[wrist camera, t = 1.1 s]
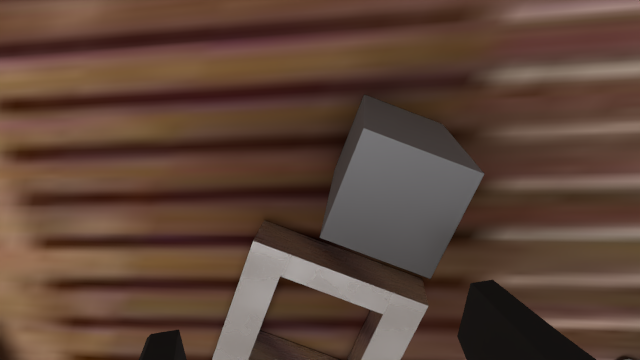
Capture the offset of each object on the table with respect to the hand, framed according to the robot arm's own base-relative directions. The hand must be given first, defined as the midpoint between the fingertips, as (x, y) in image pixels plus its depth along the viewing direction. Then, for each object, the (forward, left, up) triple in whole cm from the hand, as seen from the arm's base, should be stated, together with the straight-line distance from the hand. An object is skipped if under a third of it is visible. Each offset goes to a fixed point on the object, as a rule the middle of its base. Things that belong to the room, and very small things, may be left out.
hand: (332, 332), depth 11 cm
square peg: (-1, -2, -12) cm, 13 cm away
